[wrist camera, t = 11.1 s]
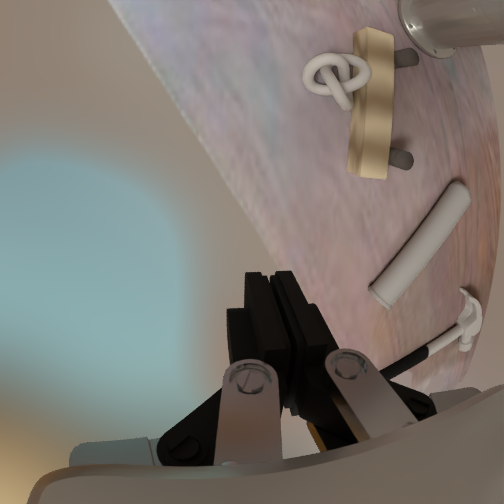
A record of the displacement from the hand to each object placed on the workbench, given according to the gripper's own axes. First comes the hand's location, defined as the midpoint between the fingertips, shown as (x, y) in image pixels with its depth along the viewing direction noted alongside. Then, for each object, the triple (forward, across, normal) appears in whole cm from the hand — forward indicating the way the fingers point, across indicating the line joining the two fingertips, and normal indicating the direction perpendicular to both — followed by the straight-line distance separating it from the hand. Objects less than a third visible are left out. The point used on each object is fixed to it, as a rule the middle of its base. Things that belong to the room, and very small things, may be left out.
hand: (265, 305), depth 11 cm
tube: (+28, -32, +9) cm, 43 cm away
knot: (+27, -13, -13) cm, 33 cm away
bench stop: (+27, -19, -11) cm, 35 cm away
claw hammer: (+28, -46, +35) cm, 64 cm away
